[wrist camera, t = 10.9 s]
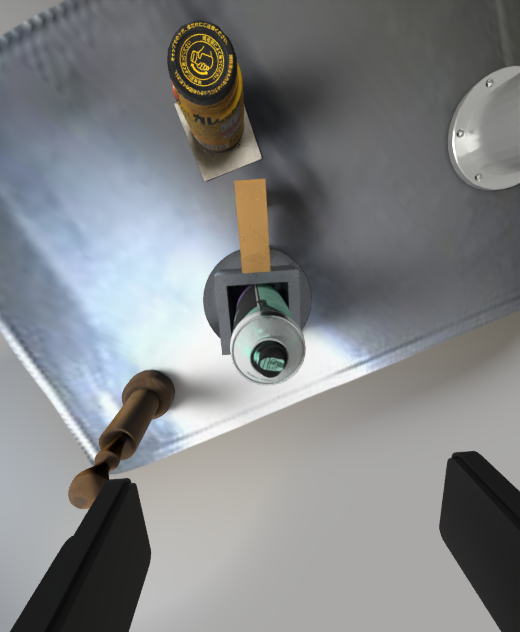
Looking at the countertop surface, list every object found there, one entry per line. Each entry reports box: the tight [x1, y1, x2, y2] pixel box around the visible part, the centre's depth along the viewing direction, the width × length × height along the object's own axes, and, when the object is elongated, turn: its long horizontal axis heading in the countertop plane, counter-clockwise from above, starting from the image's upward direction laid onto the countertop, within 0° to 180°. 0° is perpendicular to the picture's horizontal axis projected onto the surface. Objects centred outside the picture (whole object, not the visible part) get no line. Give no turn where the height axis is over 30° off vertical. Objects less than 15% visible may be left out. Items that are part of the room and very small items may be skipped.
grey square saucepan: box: [203, 179, 311, 355], centre depth 34 cm, size 14×20×7 cm
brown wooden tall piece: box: [68, 371, 175, 509], centre depth 32 cm, size 7×6×18 cm
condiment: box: [167, 21, 262, 181], centre depth 27 cm, size 7×8×12 cm
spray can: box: [230, 283, 305, 385], centre depth 28 cm, size 6×6×20 cm
